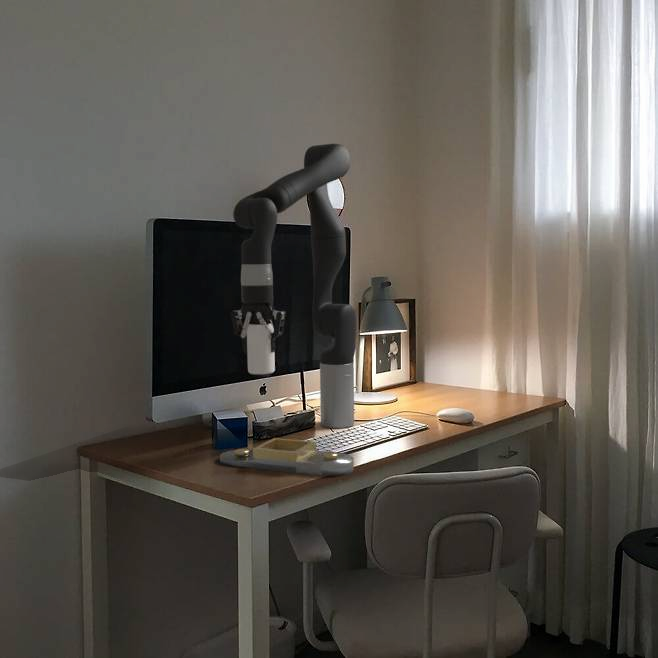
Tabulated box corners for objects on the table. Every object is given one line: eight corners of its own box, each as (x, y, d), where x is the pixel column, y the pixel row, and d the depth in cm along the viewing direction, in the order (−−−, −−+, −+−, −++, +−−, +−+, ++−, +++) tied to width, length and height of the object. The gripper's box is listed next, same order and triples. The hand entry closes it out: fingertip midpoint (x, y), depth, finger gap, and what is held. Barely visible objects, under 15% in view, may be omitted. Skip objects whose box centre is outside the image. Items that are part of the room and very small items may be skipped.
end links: (211, 463, 174) (210, 444, 173) (234, 452, 184) (234, 434, 183) (343, 478, 162) (342, 457, 161) (360, 465, 171) (360, 445, 171)
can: (275, 370, 189) (274, 321, 187) (274, 374, 182) (273, 324, 181) (248, 370, 189) (247, 321, 187) (247, 375, 182) (245, 324, 181)
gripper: (291, 282, 184) (292, 353, 186) (238, 282, 190) (240, 350, 191) (277, 284, 177) (278, 357, 179) (222, 284, 183) (224, 354, 184)
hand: (258, 353), depth 185 cm, fingers closed on can, 5 cm apart
